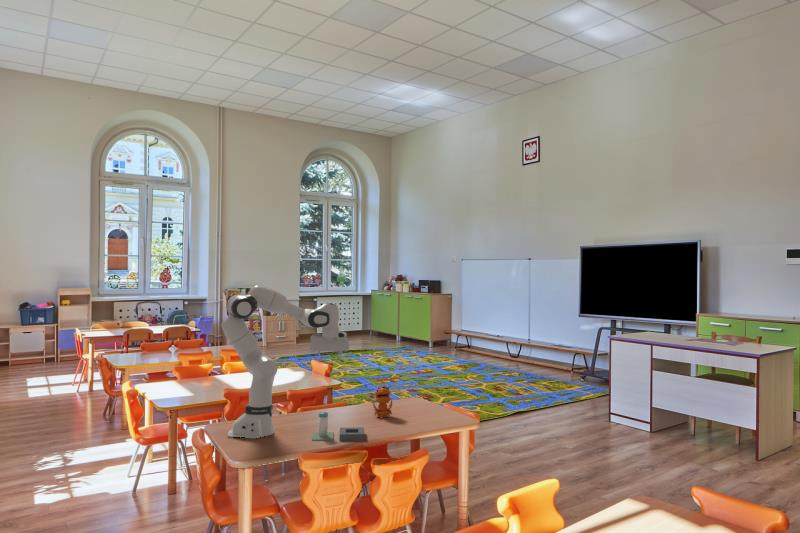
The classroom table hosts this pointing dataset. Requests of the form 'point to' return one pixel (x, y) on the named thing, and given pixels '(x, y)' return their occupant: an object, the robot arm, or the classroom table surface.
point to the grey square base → (352, 434)
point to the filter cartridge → (323, 424)
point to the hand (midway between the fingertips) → (329, 359)
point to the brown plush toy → (383, 402)
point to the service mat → (317, 438)
